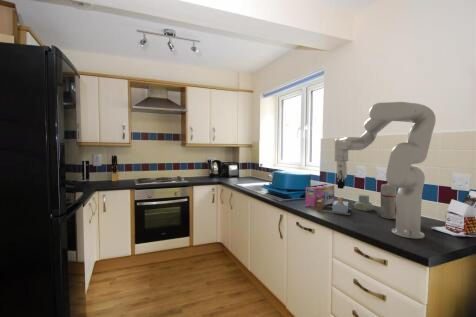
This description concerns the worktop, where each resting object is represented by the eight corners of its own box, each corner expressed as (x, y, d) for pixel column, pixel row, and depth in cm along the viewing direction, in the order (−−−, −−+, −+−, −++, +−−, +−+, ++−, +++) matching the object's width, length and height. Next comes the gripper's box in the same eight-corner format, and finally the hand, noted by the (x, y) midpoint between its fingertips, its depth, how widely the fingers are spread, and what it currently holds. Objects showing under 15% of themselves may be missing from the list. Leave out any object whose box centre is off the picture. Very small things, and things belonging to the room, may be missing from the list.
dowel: (342, 213, 151) (342, 198, 150) (336, 212, 153) (337, 197, 152) (343, 212, 154) (343, 197, 153) (337, 211, 155) (338, 196, 155)
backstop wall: (320, 211, 154) (320, 201, 154) (316, 211, 155) (316, 201, 155) (324, 206, 168) (324, 197, 167) (320, 206, 169) (320, 197, 168)
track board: (350, 216, 147) (350, 213, 147) (316, 212, 155) (316, 209, 155) (351, 211, 160) (351, 208, 160) (320, 207, 169) (320, 204, 169)
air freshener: (375, 211, 160) (375, 195, 160) (369, 213, 155) (369, 197, 155) (358, 208, 169) (358, 193, 168) (351, 210, 164) (352, 194, 163)
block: (346, 214, 149) (346, 205, 149) (332, 212, 153) (332, 204, 152) (348, 209, 160) (348, 201, 159) (334, 208, 163) (334, 200, 163)
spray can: (392, 220, 141) (393, 184, 140) (377, 216, 147) (378, 182, 147) (399, 218, 145) (400, 183, 144) (384, 214, 152) (385, 181, 151)
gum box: (326, 202, 187) (326, 183, 186) (335, 204, 180) (336, 185, 180) (304, 206, 173) (305, 186, 172) (314, 208, 166) (315, 188, 166)
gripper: (347, 159, 143) (347, 189, 143) (349, 158, 158) (349, 186, 158) (332, 159, 146) (332, 188, 146) (336, 158, 161) (336, 185, 162)
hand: (341, 187), depth 152 cm, fingers open, 9 cm apart
